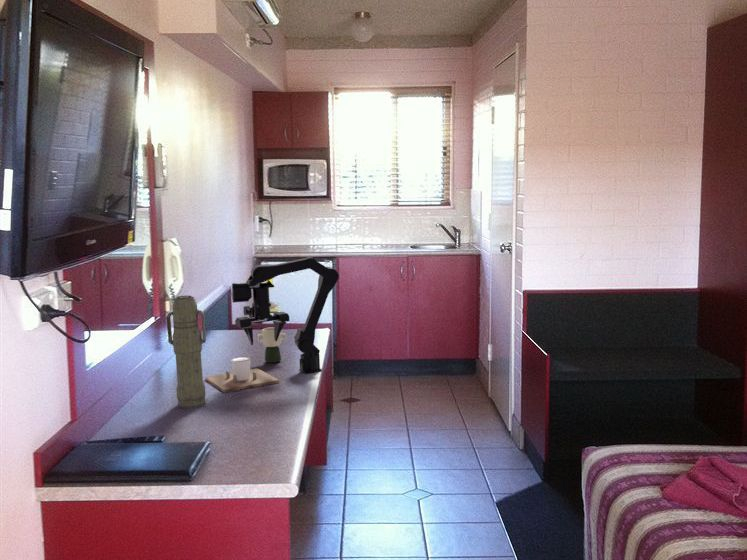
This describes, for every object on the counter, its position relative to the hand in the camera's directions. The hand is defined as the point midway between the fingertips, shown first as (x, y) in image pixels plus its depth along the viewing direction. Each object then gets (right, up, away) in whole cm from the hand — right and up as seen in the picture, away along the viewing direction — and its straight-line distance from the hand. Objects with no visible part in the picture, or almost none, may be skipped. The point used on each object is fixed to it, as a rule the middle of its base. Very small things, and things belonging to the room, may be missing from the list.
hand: (263, 343), depth 282 cm
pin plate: (-7, -13, -5) cm, 16 cm away
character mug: (+1, -9, +21) cm, 23 cm away
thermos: (-19, -17, -30) cm, 40 cm away
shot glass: (-7, -12, -5) cm, 15 cm away
